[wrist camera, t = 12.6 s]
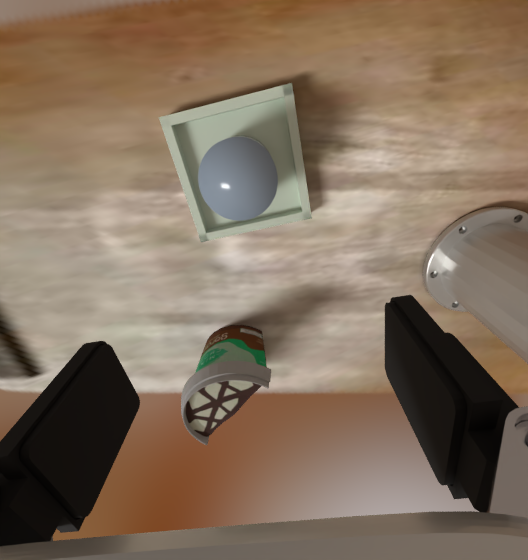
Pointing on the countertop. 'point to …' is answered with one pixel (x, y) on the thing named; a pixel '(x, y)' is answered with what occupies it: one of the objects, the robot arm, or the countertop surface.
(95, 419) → the robot arm
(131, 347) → the countertop surface
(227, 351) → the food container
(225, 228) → the tray
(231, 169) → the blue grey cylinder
